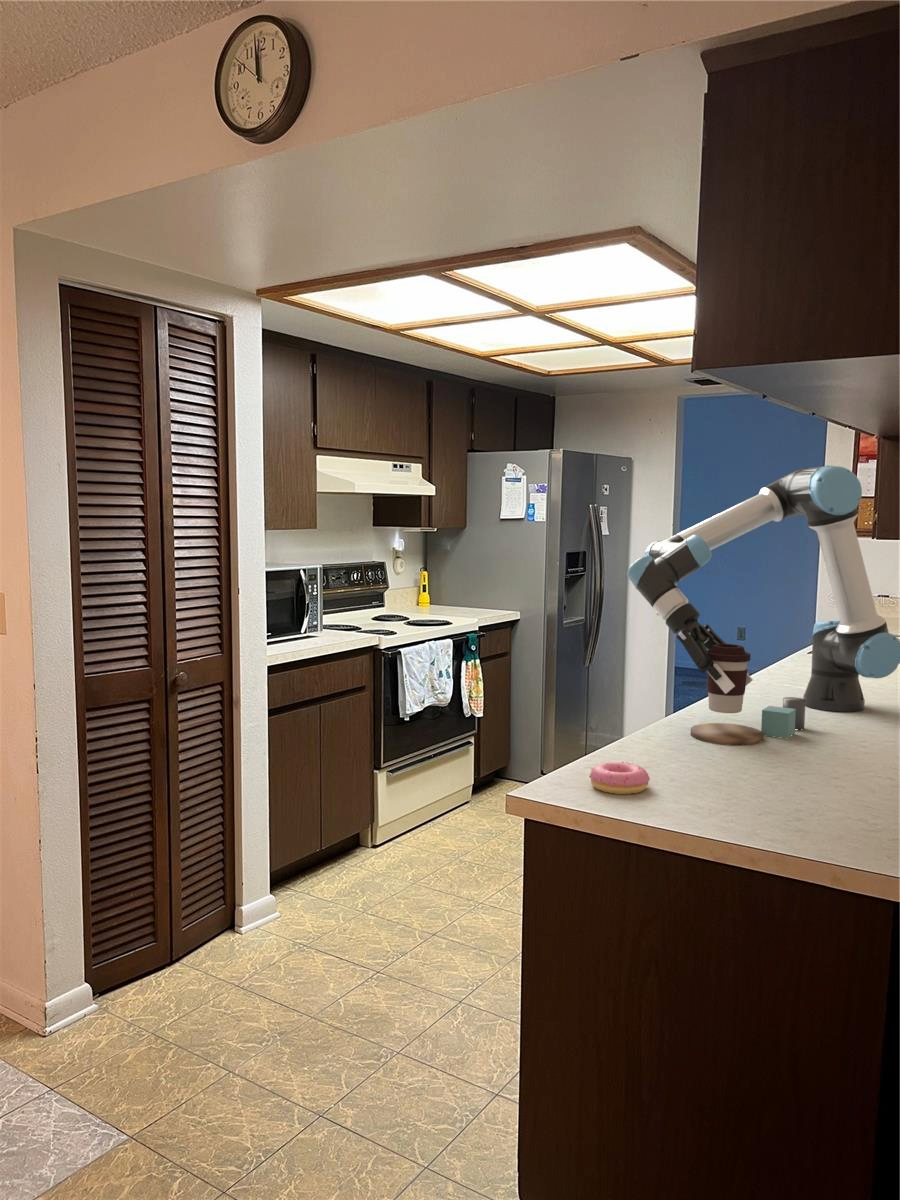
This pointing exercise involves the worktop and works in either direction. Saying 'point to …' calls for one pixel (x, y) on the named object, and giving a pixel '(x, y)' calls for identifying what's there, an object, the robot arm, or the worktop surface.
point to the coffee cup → (735, 668)
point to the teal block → (778, 721)
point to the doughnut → (619, 777)
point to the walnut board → (727, 734)
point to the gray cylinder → (800, 710)
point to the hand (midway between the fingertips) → (739, 686)
